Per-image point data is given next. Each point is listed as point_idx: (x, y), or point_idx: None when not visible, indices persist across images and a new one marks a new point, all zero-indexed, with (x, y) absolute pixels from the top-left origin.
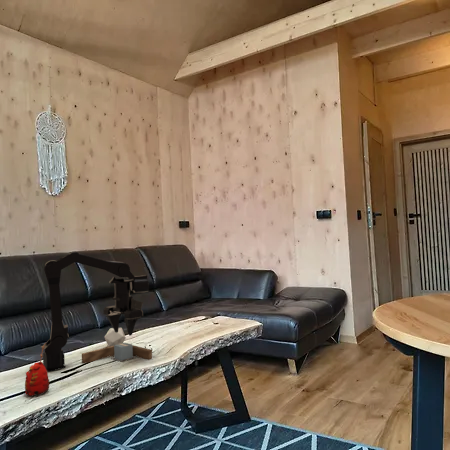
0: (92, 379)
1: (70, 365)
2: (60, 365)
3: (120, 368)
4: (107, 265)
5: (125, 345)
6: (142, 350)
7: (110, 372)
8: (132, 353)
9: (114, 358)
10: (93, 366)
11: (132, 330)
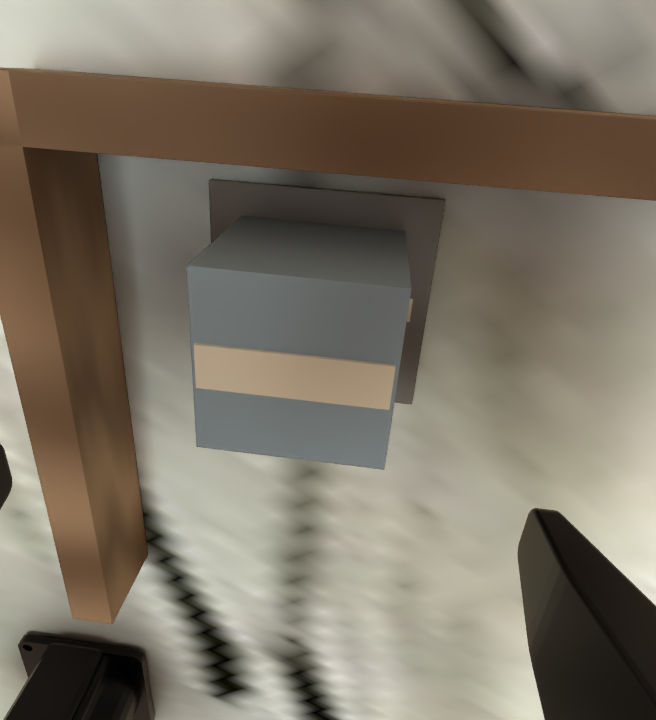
0: (536, 715)
1: None
2: (124, 687)
3: None
4: None
5: (364, 394)
6: (581, 191)
7: None
8: (406, 247)
9: None
10: (286, 568)
11: (635, 615)
